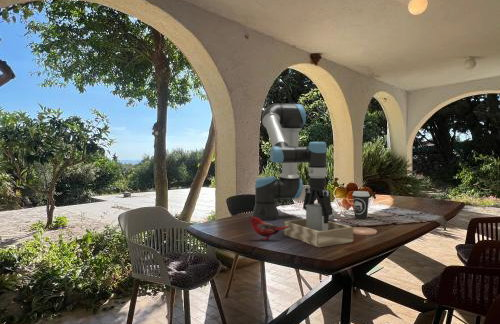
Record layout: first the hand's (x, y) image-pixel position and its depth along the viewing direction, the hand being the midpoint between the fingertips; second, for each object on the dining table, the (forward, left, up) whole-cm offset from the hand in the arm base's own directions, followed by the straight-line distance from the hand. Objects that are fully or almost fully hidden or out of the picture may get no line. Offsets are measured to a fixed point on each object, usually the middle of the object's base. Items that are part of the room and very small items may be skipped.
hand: (316, 228), depth 149 cm
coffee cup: (-23, +51, -4) cm, 56 cm away
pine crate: (0, 0, -4) cm, 4 cm away
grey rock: (-26, +30, -4) cm, 40 cm away
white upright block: (0, 0, -2) cm, 2 cm away
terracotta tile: (+2, +26, -4) cm, 26 cm away
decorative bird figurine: (-6, -20, -4) cm, 22 cm away
